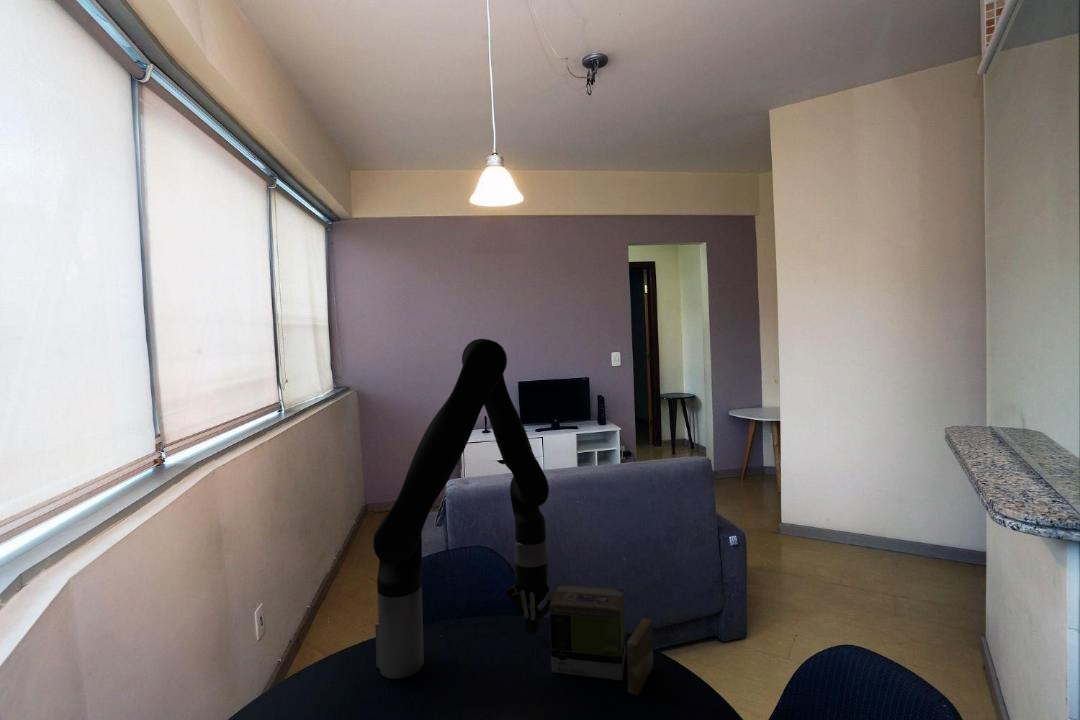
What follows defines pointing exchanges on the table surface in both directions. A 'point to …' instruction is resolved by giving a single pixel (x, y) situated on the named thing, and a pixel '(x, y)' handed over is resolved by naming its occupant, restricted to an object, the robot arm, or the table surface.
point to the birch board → (639, 656)
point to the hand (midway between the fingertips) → (532, 633)
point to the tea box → (588, 631)
